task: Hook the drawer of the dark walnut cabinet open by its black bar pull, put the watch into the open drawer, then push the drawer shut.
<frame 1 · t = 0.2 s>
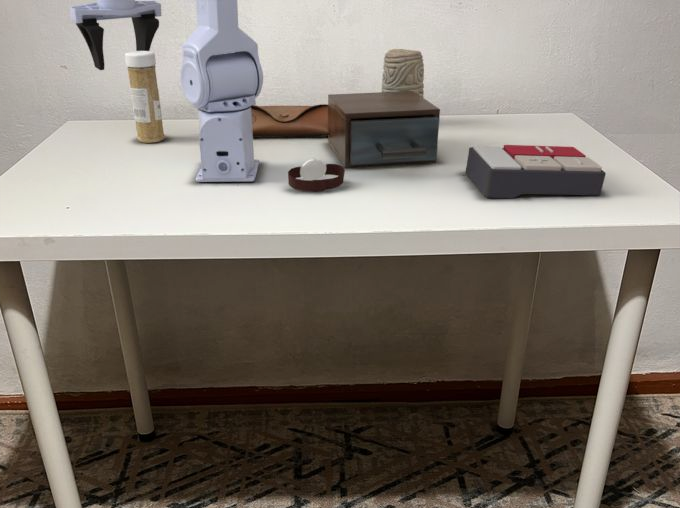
hand: (121, 65, 116), 11 cm above the table, tool pointing down, fingers open, 7 cm apart
sprinkles bottle: (151, 141, 116), on the table
cabinet: (379, 153, 107), on the table
watch: (316, 188, 93), on the table
carving: (400, 124, 124), on the table
sunglasses case: (286, 134, 119), on the table
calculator: (530, 185, 94), on the table
drawer: (388, 135, 101), point 4 cm above the table, slide at 0.5 cm
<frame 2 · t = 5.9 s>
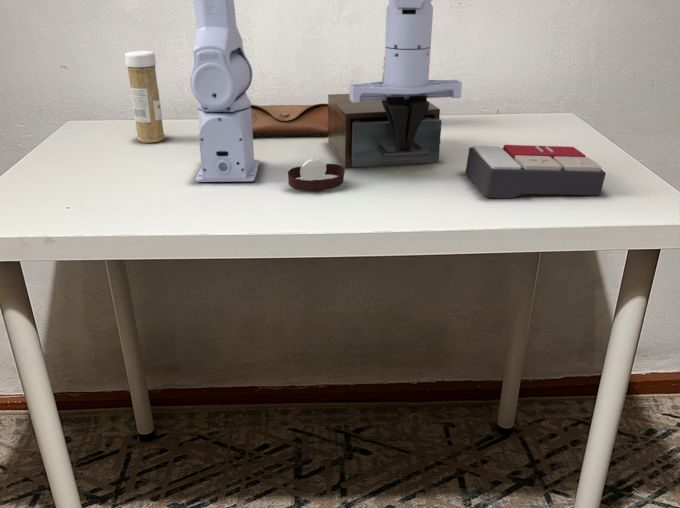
hand: (402, 154, 95), 3 cm above the table, tool pointing down, fingers closed, pressing on drawer
drawer: (390, 137, 101), point 4 cm above the table, slide at 1.6 cm, touching gripper
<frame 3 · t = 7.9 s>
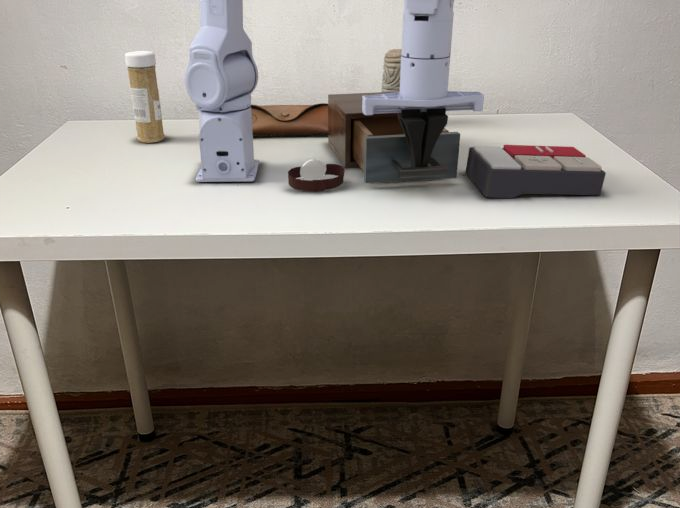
hand: (418, 170, 89), 3 cm above the table, tool pointing down, fingers closed
drawer: (405, 151, 94), point 4 cm above the table, slide at 9.2 cm, touching gripper
everything else where it was.
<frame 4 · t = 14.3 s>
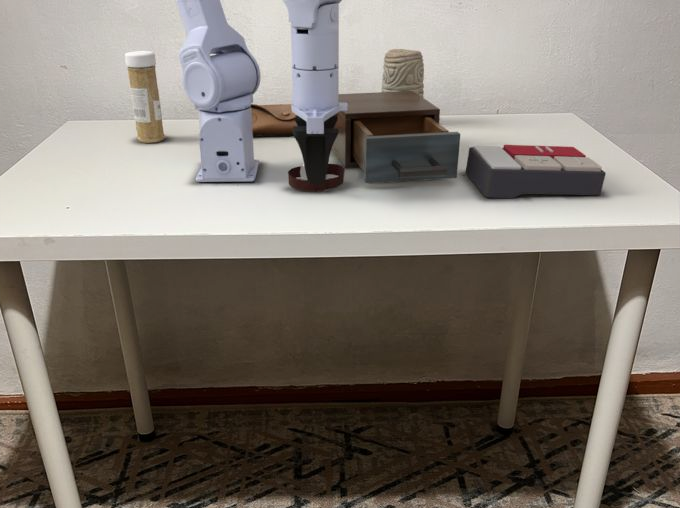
hand: (316, 176, 93), 1 cm above the table, tool pointing down, fingers closed on watch, 5 cm apart
watch: (316, 188, 93), on the table, touching gripper
drawer: (405, 151, 94), point 4 cm above the table, slide at 9.3 cm
when the fingers open (3 cm above the table, at t = 19.1 s): watch stays where it is, resting on drawer.
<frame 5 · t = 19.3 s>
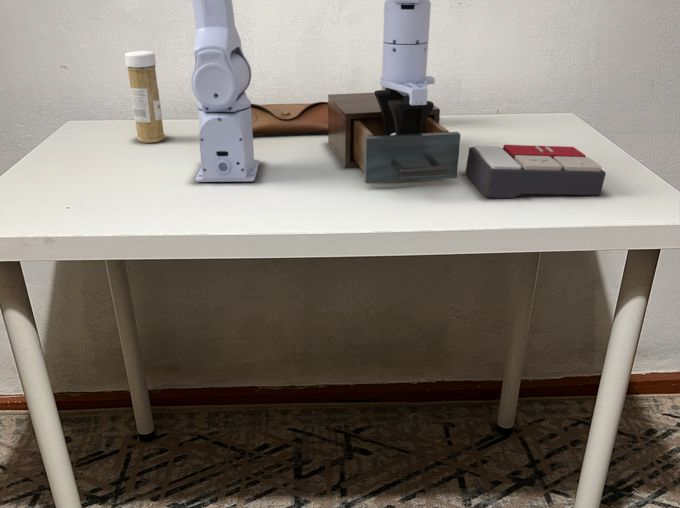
hand: (400, 149, 96), 3 cm above the table, tool pointing down, fingers open, 5 cm apart
watch: (399, 161, 97), point 2 cm above the table, touching drawer
drawer: (405, 151, 94), point 4 cm above the table, slide at 9.3 cm, touching watch
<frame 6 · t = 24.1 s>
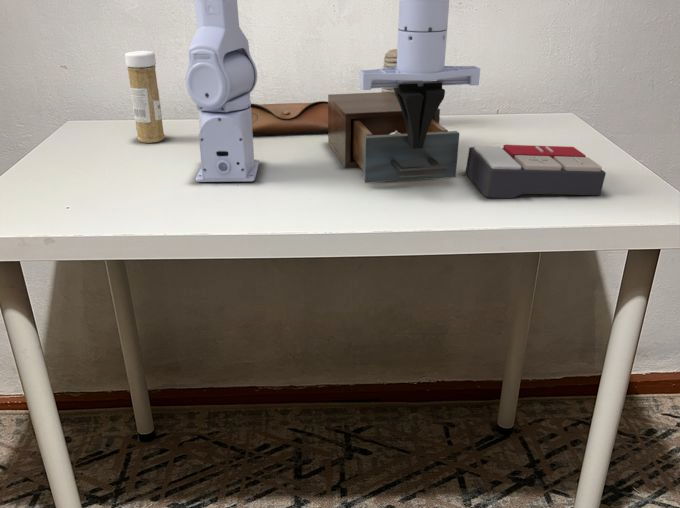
hand: (415, 146, 89), 6 cm above the table, tool pointing down, fingers closed, pressing on drawer
drawer: (404, 150, 94), point 4 cm above the table, slide at 8.9 cm, touching gripper, watch
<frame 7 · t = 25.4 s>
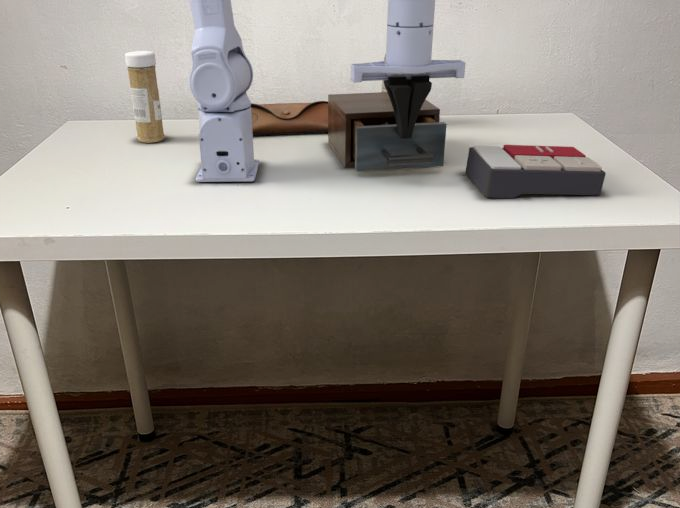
hand: (404, 136, 94), 6 cm above the table, tool pointing down, fingers closed, pressing on drawer
watch: (389, 150, 102), point 2 cm above the table, touching drawer
drawer: (394, 141, 99), point 4 cm above the table, slide at 3.7 cm, touching gripper, watch
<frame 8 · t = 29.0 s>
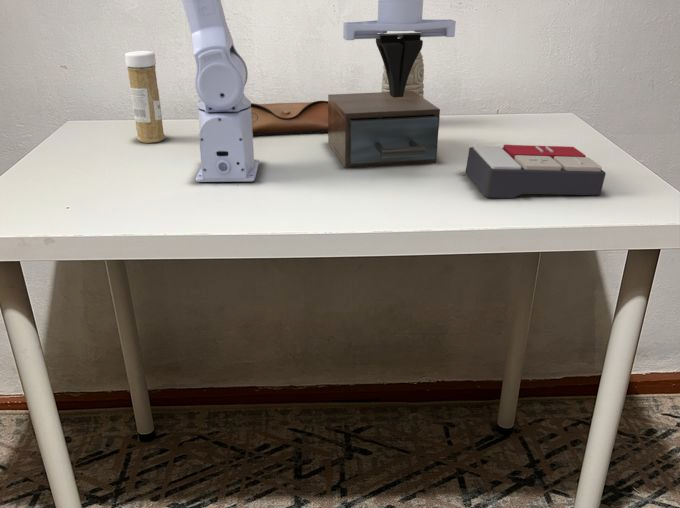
hand: (396, 95, 96), 10 cm above the table, tool pointing down, fingers closed
watch: (383, 144, 105), point 2 cm above the table, touching drawer
drawer: (387, 134, 102), point 4 cm above the table, slide at 0.0 cm, touching cabinet, watch
at the end: drawer pulled out 9.3 cm at the most during the clip, back to where it started at the end; watch inside the target area in the cabinet (1.9 cm from its centre), point 1.8 cm above the cabinet's base; drawer slide at 0.0 cm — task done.
